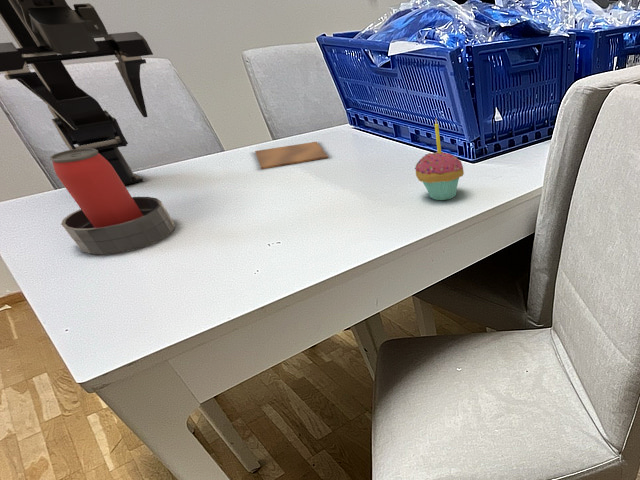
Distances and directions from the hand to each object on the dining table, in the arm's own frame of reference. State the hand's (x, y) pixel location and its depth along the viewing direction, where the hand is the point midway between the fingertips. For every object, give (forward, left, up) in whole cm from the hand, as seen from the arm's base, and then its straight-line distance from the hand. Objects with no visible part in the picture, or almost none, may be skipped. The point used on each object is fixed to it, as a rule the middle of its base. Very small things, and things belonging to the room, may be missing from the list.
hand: (112, 123), depth 68 cm
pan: (+4, -7, -14) cm, 17 cm away
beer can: (+4, -7, -14) cm, 16 cm away
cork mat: (-16, +32, -14) cm, 38 cm away
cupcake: (+32, +36, -14) cm, 50 cm away
